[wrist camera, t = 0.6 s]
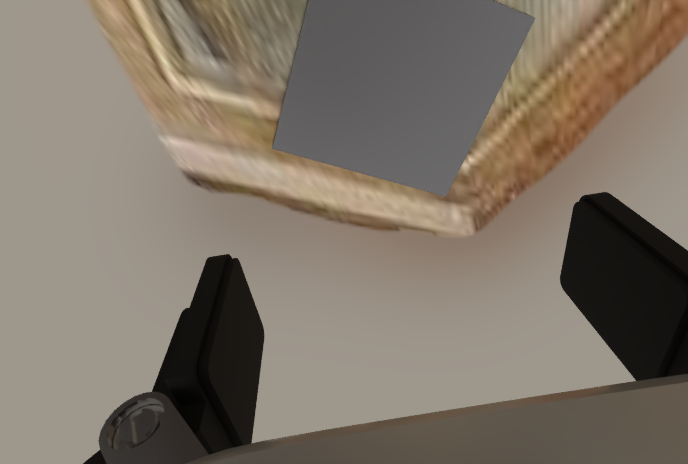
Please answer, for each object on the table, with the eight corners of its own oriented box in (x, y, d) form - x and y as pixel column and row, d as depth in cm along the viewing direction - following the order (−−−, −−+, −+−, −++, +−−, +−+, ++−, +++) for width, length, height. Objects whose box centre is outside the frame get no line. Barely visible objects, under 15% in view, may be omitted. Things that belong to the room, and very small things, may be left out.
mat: (324, -68, 30) (325, -69, 29) (530, 17, 34) (535, 18, 33) (272, 145, 38) (272, 148, 37) (443, 193, 42) (445, 196, 41)
